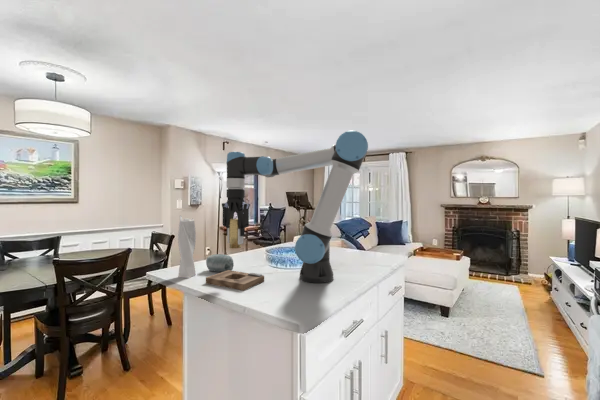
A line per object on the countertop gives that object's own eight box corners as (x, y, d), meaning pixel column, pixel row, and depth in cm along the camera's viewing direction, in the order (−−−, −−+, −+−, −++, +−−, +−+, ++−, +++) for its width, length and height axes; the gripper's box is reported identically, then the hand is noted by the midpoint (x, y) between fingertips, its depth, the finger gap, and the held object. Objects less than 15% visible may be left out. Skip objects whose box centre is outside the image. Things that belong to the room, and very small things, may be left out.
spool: (239, 262, 146) (230, 247, 142) (231, 275, 137) (222, 259, 134) (218, 266, 150) (208, 251, 147) (209, 279, 142) (199, 264, 139)
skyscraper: (173, 277, 130) (173, 215, 130) (184, 273, 138) (184, 214, 137) (188, 279, 128) (188, 215, 128) (199, 274, 135) (199, 214, 135)
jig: (264, 281, 125) (264, 274, 125) (243, 290, 113) (243, 282, 113) (228, 275, 134) (228, 268, 134) (205, 283, 122) (205, 276, 122)
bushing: (243, 246, 125) (243, 219, 124) (236, 248, 120) (236, 219, 120) (234, 245, 127) (234, 218, 127) (226, 247, 123) (227, 219, 122)
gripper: (258, 188, 122) (257, 243, 123) (225, 189, 131) (225, 240, 131) (247, 188, 116) (246, 246, 116) (213, 188, 124) (213, 242, 124)
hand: (235, 243), depth 124 cm, fingers closed on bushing, 5 cm apart
